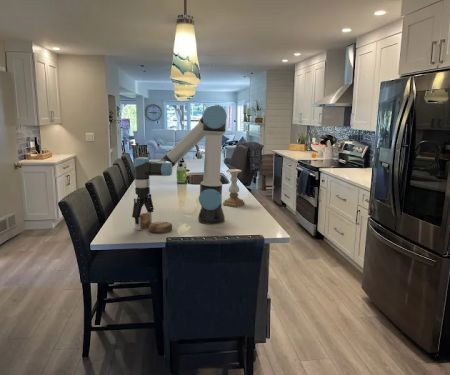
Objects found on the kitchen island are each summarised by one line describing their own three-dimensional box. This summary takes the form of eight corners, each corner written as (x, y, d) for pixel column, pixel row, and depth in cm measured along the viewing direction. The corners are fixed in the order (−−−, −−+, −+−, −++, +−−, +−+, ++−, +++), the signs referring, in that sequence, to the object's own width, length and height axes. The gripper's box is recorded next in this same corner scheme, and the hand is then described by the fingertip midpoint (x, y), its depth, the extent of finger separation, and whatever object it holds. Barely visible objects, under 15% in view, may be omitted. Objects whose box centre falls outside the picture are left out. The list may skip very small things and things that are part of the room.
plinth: (175, 227, 198) (175, 222, 198) (165, 234, 187) (165, 228, 186) (155, 225, 202) (155, 220, 201) (144, 232, 191) (144, 226, 190)
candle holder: (231, 202, 258) (231, 168, 254) (244, 204, 252) (245, 169, 248) (222, 205, 250) (222, 170, 245) (236, 207, 243) (236, 171, 239)
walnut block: (150, 226, 201) (150, 213, 200) (145, 228, 197) (145, 216, 195) (142, 225, 203) (141, 213, 202) (137, 227, 198) (137, 215, 197)
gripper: (147, 182, 208) (148, 220, 212) (123, 190, 186) (125, 232, 190) (159, 183, 205) (160, 221, 209) (136, 191, 183) (138, 233, 188)
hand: (143, 226), depth 200 cm, fingers open, 11 cm apart
